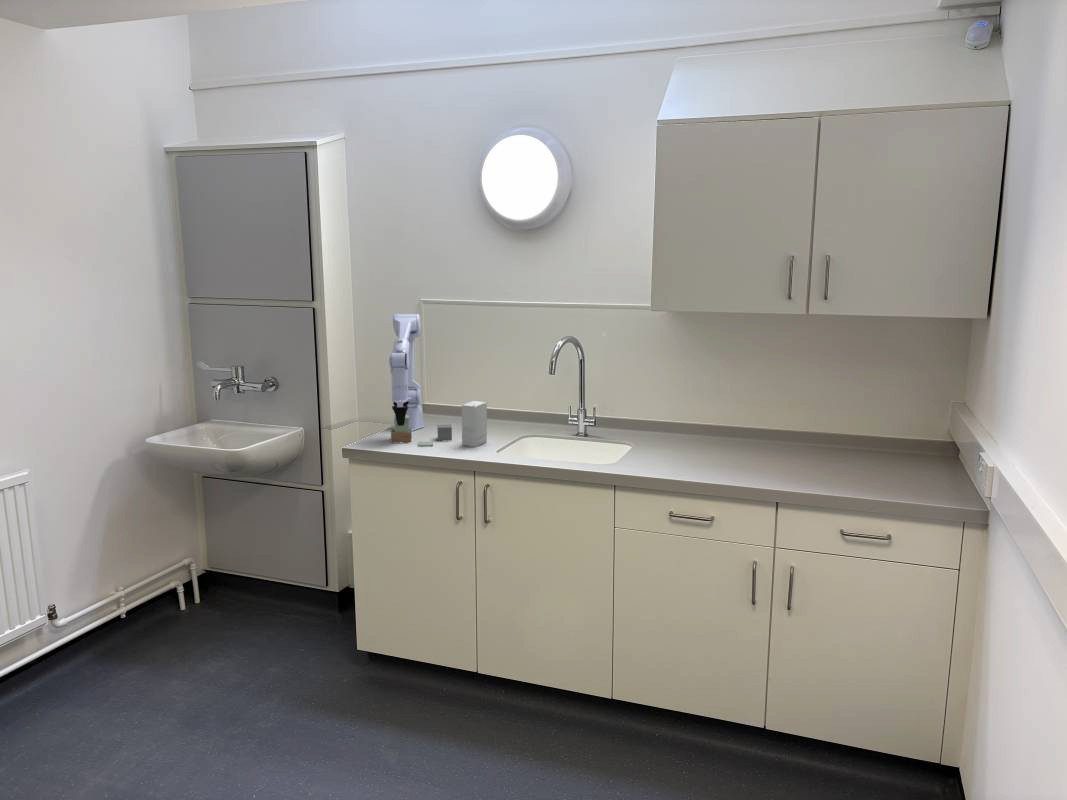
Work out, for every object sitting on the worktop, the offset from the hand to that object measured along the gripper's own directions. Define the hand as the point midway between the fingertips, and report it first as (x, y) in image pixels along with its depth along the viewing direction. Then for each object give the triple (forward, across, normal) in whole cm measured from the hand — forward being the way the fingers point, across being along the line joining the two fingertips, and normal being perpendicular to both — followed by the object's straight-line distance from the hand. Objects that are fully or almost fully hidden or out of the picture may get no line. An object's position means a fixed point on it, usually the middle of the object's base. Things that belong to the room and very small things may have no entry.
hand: (401, 423), depth 280 cm
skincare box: (+7, -9, -26) cm, 28 cm away
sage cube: (+3, 0, 0) cm, 3 cm away
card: (+6, -7, -9) cm, 13 cm away
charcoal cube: (+6, 0, -16) cm, 17 cm away
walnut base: (+7, 0, 0) cm, 7 cm away
